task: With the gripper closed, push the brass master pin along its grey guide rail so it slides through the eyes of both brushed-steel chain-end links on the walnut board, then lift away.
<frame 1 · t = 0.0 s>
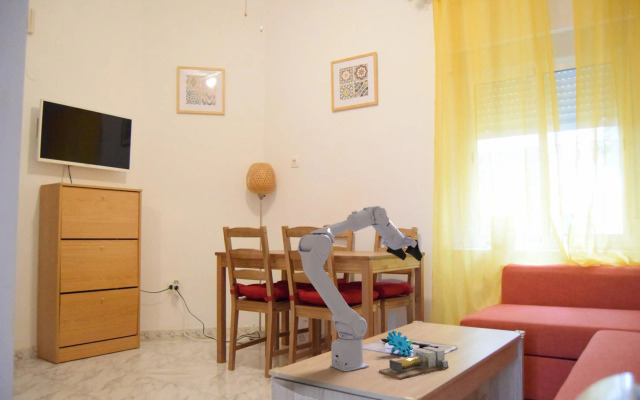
hand: (412, 258, 168), 32 cm above the table, tool tilted 50°, fingers open, 7 cm apart
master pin: (406, 363, 143), point 2 cm above the table, slide at 0.0 cm
link b: (433, 365, 149), resting on board
board: (414, 370, 145), on the table
gear: (401, 355, 164), on the table
link a: (424, 367, 147), resting on board
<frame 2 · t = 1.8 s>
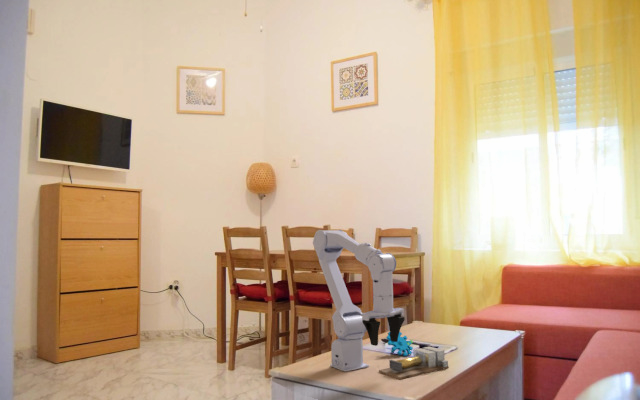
hand: (384, 343, 139), 9 cm above the table, tool pointing down, fingers open, 7 cm apart
nothing on the table moved.
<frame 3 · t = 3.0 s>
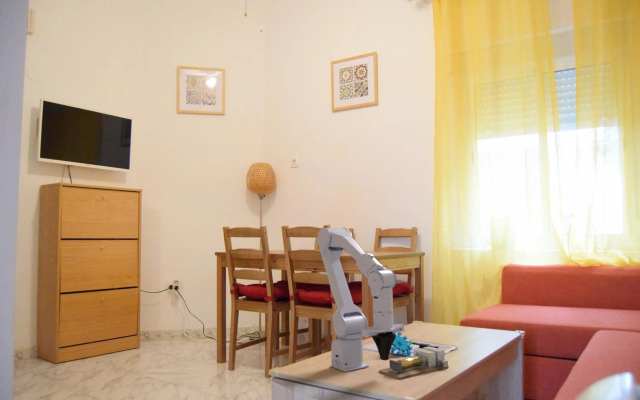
hand: (384, 359, 138), 5 cm above the table, tool pointing down, fingers closed
nothing on the table moved.
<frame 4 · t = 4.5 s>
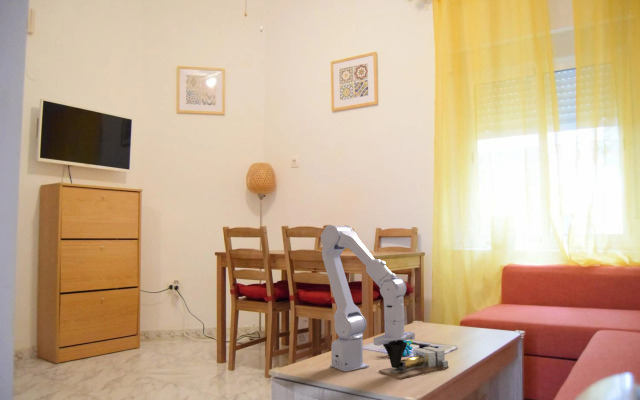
hand: (395, 367, 141), 2 cm above the table, tool pointing down, fingers closed
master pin: (410, 362, 144), point 2 cm above the table, slide at 1.4 cm, touching gripper
everything else where it was.
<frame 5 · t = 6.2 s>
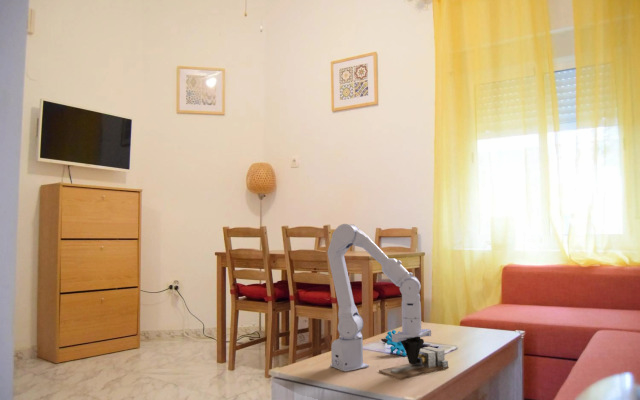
hand: (412, 363, 145), 2 cm above the table, tool pointing down, fingers closed
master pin: (426, 358, 148), point 3 cm above the table, slide at 8.4 cm, touching gripper
everything else where it was.
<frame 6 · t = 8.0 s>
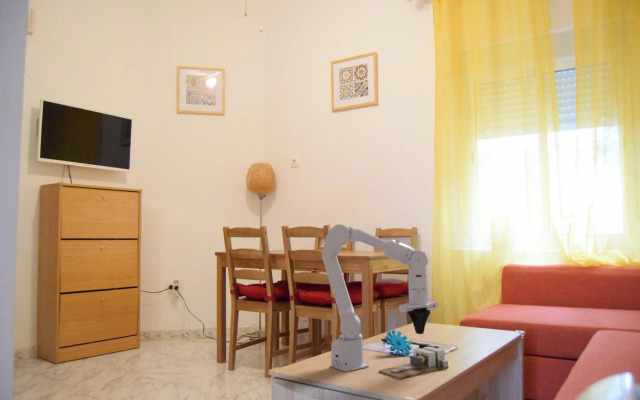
hand: (419, 333, 149), 10 cm above the table, tool pointing down, fingers closed
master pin: (426, 358, 148), point 2 cm above the table, slide at 8.4 cm
everything else where it was.
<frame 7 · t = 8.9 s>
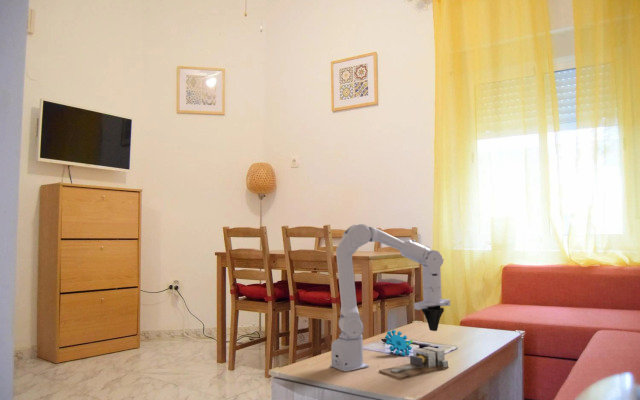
hand: (433, 330, 154), 10 cm above the table, tool pointing down, fingers closed
nothing on the table moved.
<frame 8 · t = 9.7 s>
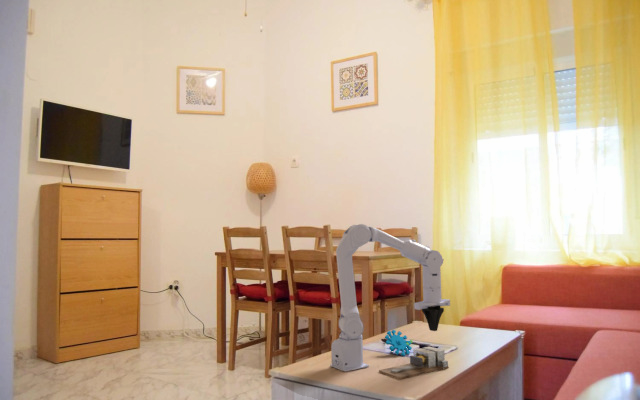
hand: (433, 330, 154), 10 cm above the table, tool pointing down, fingers closed
nothing on the table moved.
at the end: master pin slide at 8.4 cm; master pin 0.6 cm from the target spot, resting on board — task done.
